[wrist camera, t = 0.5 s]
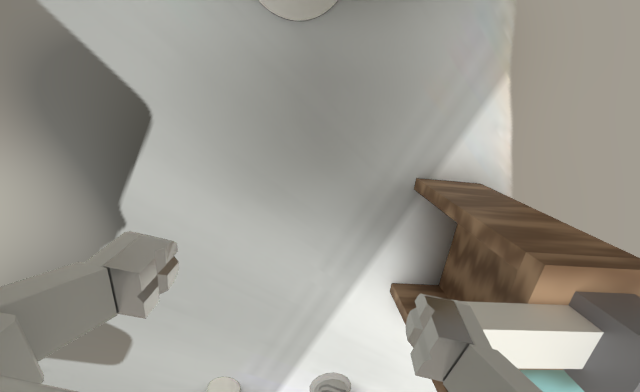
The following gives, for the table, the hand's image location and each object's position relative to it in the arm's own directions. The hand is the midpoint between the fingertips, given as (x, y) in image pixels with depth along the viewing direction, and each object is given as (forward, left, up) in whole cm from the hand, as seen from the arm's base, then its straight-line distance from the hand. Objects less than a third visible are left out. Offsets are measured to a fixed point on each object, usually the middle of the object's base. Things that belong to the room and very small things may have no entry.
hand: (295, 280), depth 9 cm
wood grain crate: (+17, +27, -36) cm, 48 cm away
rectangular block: (+11, +21, -10) cm, 26 cm away
